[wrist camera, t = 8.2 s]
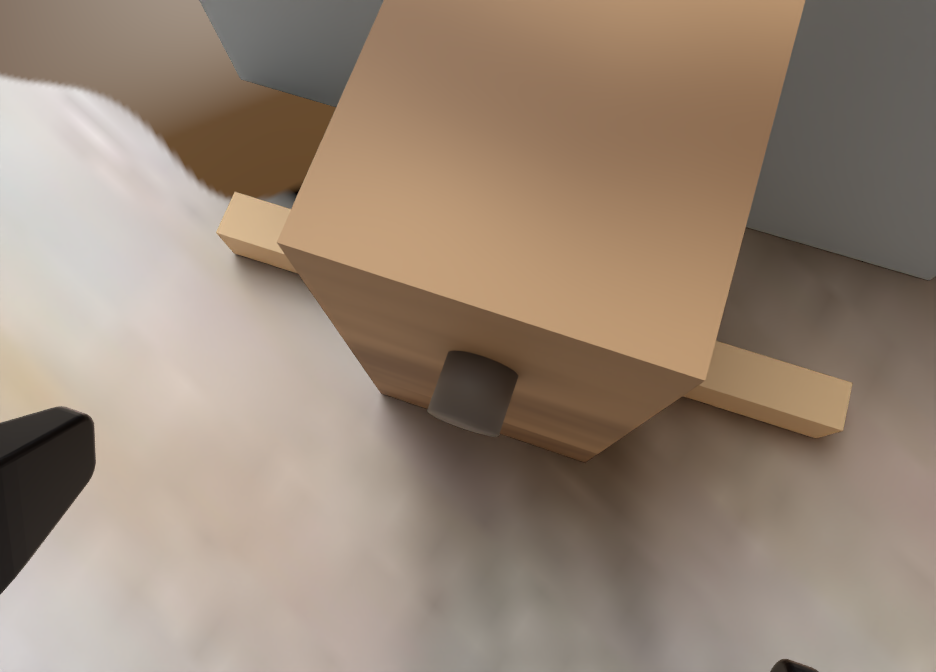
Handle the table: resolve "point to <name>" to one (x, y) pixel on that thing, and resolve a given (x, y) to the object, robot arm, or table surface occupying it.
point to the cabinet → (541, 204)
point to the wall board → (781, 177)
